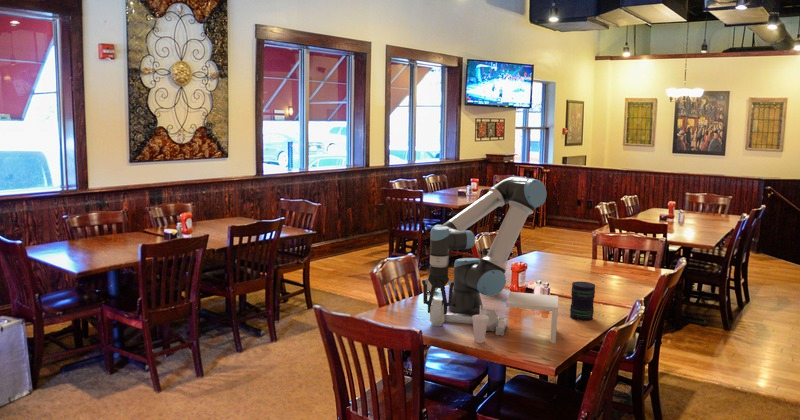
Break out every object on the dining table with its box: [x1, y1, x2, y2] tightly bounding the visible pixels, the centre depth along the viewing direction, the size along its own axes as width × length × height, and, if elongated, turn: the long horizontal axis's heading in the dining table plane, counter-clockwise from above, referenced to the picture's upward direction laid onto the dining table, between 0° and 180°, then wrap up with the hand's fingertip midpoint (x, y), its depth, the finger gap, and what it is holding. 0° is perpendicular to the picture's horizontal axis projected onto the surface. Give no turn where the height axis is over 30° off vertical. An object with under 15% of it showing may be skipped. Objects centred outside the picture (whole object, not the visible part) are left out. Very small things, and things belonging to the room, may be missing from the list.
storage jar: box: [569, 281, 596, 322], centre depth 296 cm, size 10×10×15 cm
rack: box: [505, 291, 559, 344], centre depth 273 cm, size 20×18×14 cm
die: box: [478, 308, 499, 332], centre depth 276 cm, size 8×9×10 cm
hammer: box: [430, 296, 507, 336], centre depth 279 cm, size 30×14×11 cm, turn 76°
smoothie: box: [472, 305, 489, 344], centre depth 261 cm, size 6×6×14 cm
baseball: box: [427, 281, 439, 293], centre depth 332 cm, size 7×7×7 cm
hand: (437, 321), depth 281 cm, fingers closed on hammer, 4 cm apart
